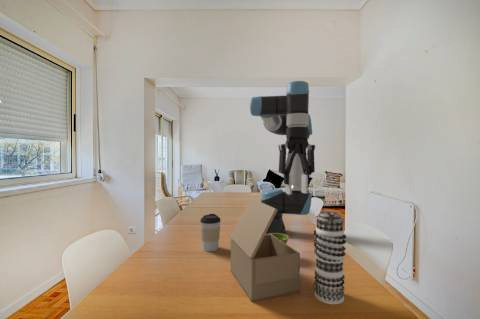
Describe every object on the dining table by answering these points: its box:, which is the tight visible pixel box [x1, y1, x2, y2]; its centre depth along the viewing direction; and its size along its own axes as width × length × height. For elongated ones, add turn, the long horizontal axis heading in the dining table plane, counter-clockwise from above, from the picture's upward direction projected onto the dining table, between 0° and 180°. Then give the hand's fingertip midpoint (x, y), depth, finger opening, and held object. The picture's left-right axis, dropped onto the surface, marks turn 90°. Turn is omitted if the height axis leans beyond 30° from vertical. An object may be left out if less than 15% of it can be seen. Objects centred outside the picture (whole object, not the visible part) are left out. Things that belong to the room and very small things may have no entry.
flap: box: [229, 197, 277, 259], centre depth 83 cm, size 16×20×1 cm
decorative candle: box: [313, 210, 347, 305], centre depth 75 cm, size 9×9×25 cm
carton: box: [230, 234, 301, 302], centre depth 84 cm, size 16×21×12 cm
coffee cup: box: [200, 213, 221, 252], centre depth 113 cm, size 9×9×15 cm
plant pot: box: [270, 233, 290, 245], centre depth 104 cm, size 9×9×9 cm
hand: (296, 193), depth 88 cm, fingers open, 6 cm apart
